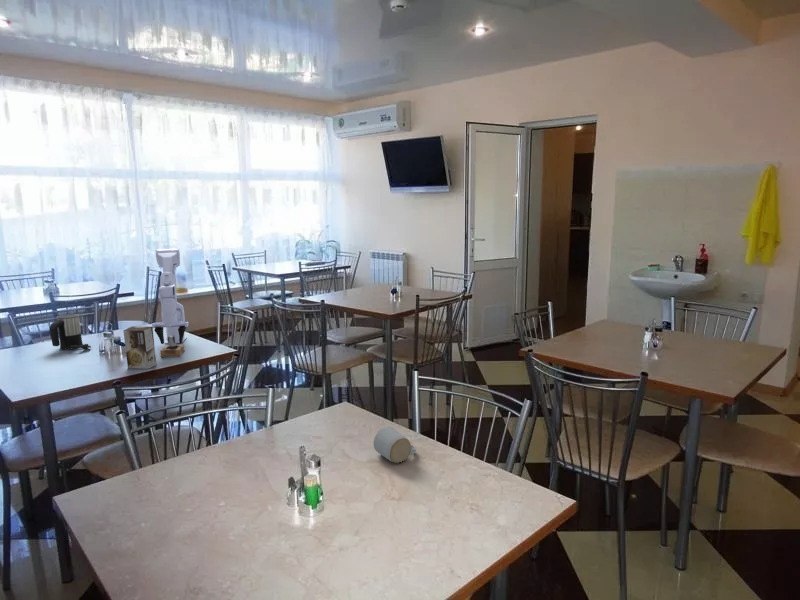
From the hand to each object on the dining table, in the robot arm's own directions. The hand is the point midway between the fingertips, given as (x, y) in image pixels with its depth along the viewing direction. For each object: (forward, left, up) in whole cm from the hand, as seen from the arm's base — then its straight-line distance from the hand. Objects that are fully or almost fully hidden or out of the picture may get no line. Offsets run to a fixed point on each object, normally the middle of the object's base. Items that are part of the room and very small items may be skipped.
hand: (171, 343), depth 232 cm
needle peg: (0, 0, -5) cm, 5 cm away
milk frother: (-16, -46, -5) cm, 49 cm away
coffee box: (+16, -8, -5) cm, 19 cm away
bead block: (0, 0, -5) cm, 5 cm away
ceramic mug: (+107, +83, -5) cm, 135 cm away
